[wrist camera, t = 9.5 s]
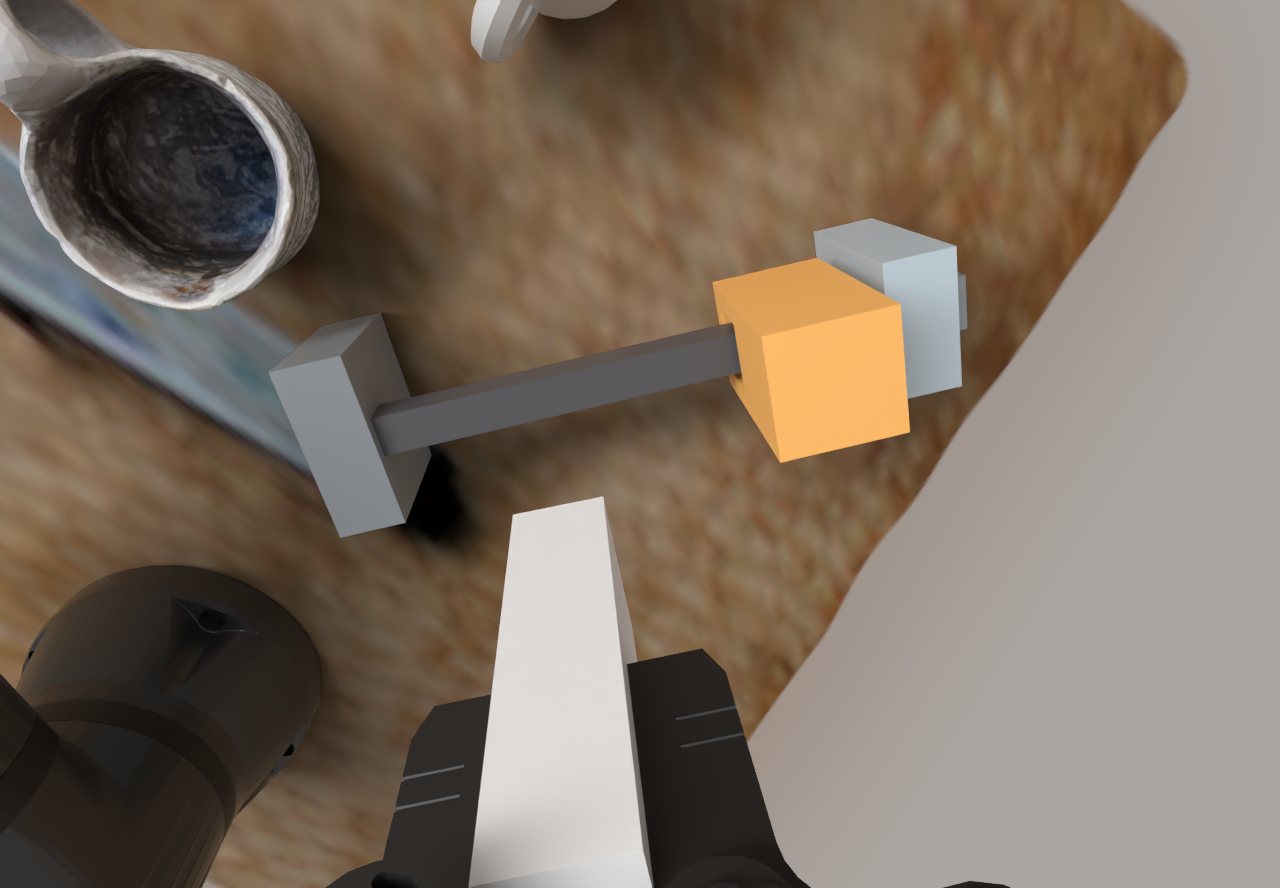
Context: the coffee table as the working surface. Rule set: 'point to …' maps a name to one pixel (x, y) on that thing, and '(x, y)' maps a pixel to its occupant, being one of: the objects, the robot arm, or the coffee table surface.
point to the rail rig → (569, 377)
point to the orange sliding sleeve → (816, 357)
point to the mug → (154, 158)
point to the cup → (519, 22)
